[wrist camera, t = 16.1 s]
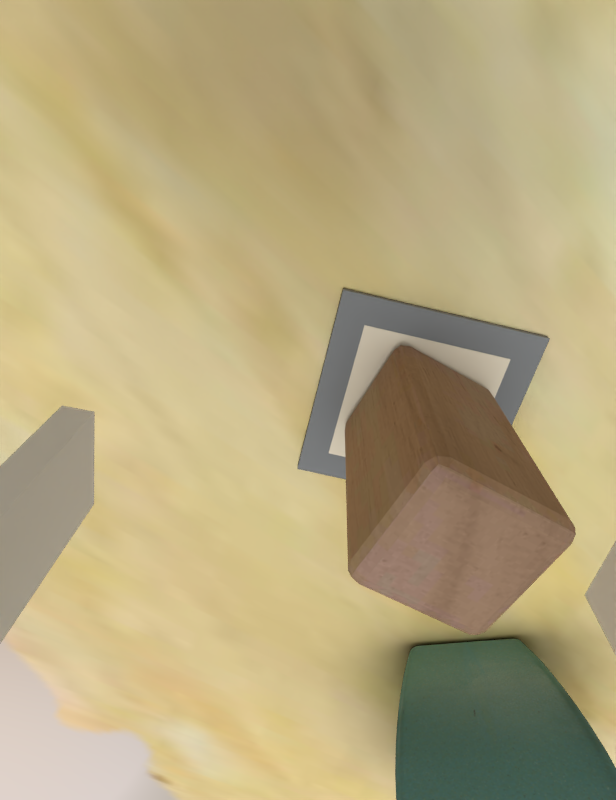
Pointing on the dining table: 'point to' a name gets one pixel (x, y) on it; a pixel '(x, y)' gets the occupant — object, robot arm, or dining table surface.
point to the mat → (424, 331)
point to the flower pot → (493, 729)
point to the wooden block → (445, 496)
